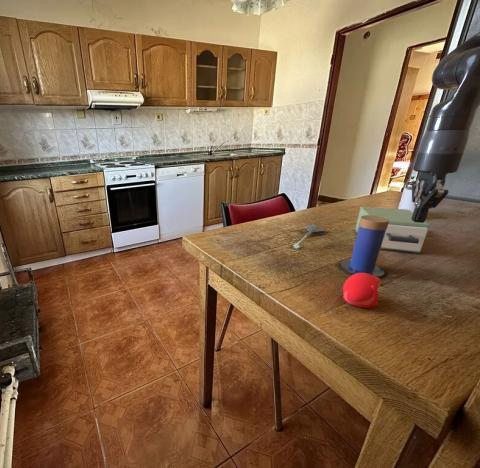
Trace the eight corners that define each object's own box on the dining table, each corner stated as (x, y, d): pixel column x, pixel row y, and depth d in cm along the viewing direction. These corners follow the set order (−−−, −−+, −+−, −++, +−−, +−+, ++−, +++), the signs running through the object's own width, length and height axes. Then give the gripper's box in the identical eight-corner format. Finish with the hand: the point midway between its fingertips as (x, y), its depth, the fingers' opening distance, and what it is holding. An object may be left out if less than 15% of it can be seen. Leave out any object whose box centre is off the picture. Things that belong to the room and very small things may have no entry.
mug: (423, 221, 97) (433, 192, 93) (394, 216, 103) (402, 189, 99) (426, 214, 104) (435, 187, 100) (398, 210, 110) (406, 184, 106)
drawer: (426, 258, 68) (435, 234, 65) (373, 251, 72) (380, 229, 70) (401, 234, 83) (407, 214, 81) (359, 229, 88) (364, 210, 85)
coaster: (378, 264, 67) (378, 262, 67) (389, 281, 60) (389, 279, 59) (338, 258, 71) (338, 257, 71) (343, 274, 63) (344, 272, 63)
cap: (370, 317, 49) (379, 290, 46) (335, 303, 53) (341, 277, 51) (381, 299, 53) (390, 274, 51) (348, 288, 58) (355, 264, 55)
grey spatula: (327, 233, 90) (307, 229, 95) (328, 223, 89) (308, 221, 94) (307, 251, 75) (284, 246, 80) (308, 240, 74) (285, 236, 79)
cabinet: (420, 253, 72) (430, 224, 69) (365, 246, 77) (373, 219, 74) (400, 234, 85) (408, 209, 82) (355, 230, 90) (360, 206, 87)
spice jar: (371, 264, 66) (385, 216, 62) (377, 274, 62) (392, 223, 57) (346, 260, 68) (358, 214, 64) (350, 270, 64) (363, 220, 59)
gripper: (480, 152, 52) (450, 231, 58) (447, 148, 63) (425, 215, 70) (432, 153, 55) (408, 228, 61) (408, 149, 66) (390, 213, 73)
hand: (417, 221), depth 66 cm, fingers closed
